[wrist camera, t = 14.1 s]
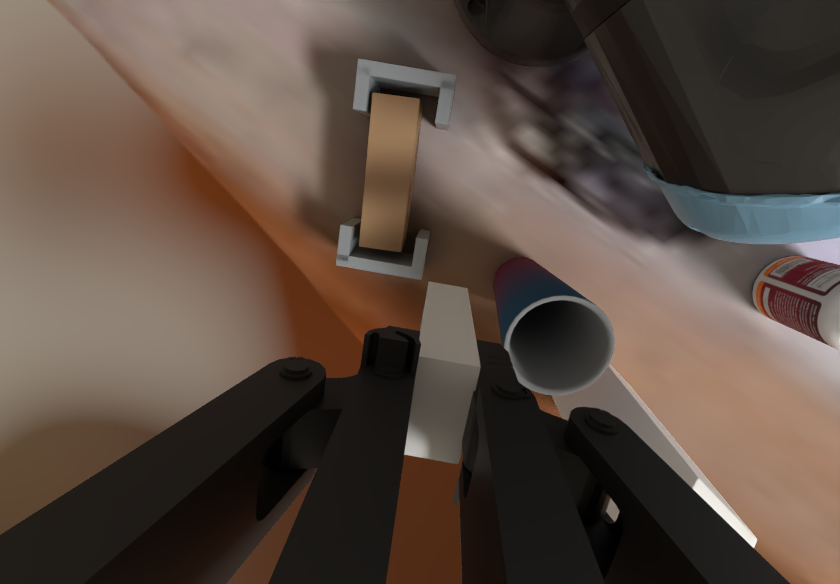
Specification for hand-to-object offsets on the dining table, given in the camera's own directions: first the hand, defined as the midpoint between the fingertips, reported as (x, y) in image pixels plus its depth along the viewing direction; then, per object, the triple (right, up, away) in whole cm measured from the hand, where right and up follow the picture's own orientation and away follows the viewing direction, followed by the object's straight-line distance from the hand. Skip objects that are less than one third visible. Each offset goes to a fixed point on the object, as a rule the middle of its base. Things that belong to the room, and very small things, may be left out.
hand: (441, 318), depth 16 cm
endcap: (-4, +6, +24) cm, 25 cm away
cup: (+9, +2, +25) cm, 26 cm away
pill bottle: (+33, +1, +23) cm, 40 cm away
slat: (-3, +12, +22) cm, 26 cm away
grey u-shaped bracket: (-2, +18, +20) cm, 27 cm away
